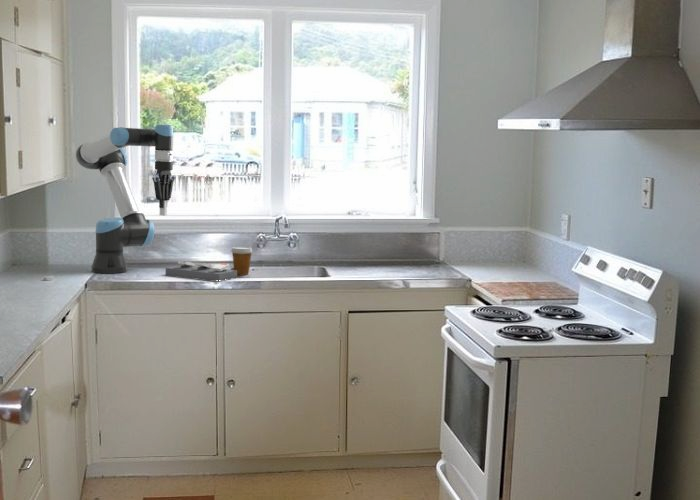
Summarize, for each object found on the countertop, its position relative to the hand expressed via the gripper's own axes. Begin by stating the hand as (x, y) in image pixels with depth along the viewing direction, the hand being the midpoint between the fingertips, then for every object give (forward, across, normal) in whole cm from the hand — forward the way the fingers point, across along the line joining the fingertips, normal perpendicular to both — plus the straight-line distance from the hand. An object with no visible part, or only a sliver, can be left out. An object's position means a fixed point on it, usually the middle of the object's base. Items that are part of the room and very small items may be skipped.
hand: (163, 215), depth 367 cm
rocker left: (+22, +9, -6) cm, 24 cm away
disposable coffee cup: (+27, +25, -25) cm, 44 cm away
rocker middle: (+22, +9, -15) cm, 28 cm away
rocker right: (+22, +9, -24) cm, 34 cm away
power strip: (+26, +8, -15) cm, 31 cm away
